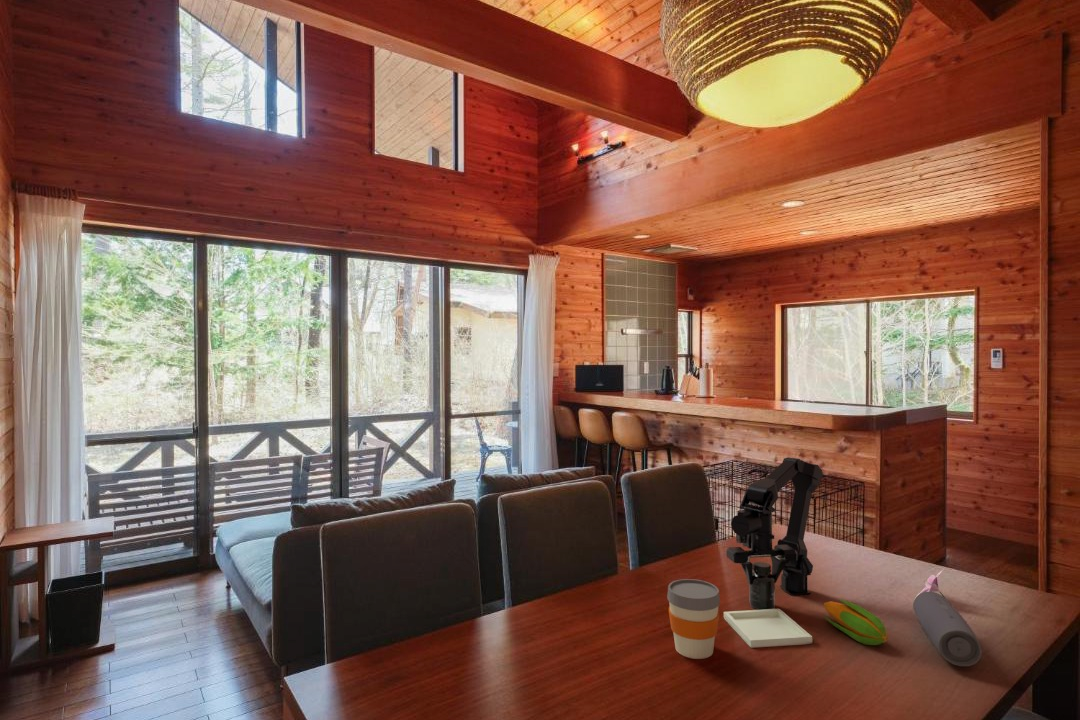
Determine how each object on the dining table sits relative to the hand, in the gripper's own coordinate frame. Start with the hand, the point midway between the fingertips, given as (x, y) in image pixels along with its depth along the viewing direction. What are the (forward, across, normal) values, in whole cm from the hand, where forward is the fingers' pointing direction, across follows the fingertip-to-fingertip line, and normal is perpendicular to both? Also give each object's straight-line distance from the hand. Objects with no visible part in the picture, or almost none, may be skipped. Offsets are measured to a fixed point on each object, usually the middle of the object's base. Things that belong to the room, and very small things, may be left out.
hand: (761, 583), depth 165 cm
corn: (+7, -15, +18) cm, 24 cm away
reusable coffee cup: (+7, +28, +21) cm, 36 cm away
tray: (+6, +6, +14) cm, 17 cm away
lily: (+7, -50, +2) cm, 51 cm away
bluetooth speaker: (+7, -33, +28) cm, 43 cm away
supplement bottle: (+7, 0, 0) cm, 7 cm away
